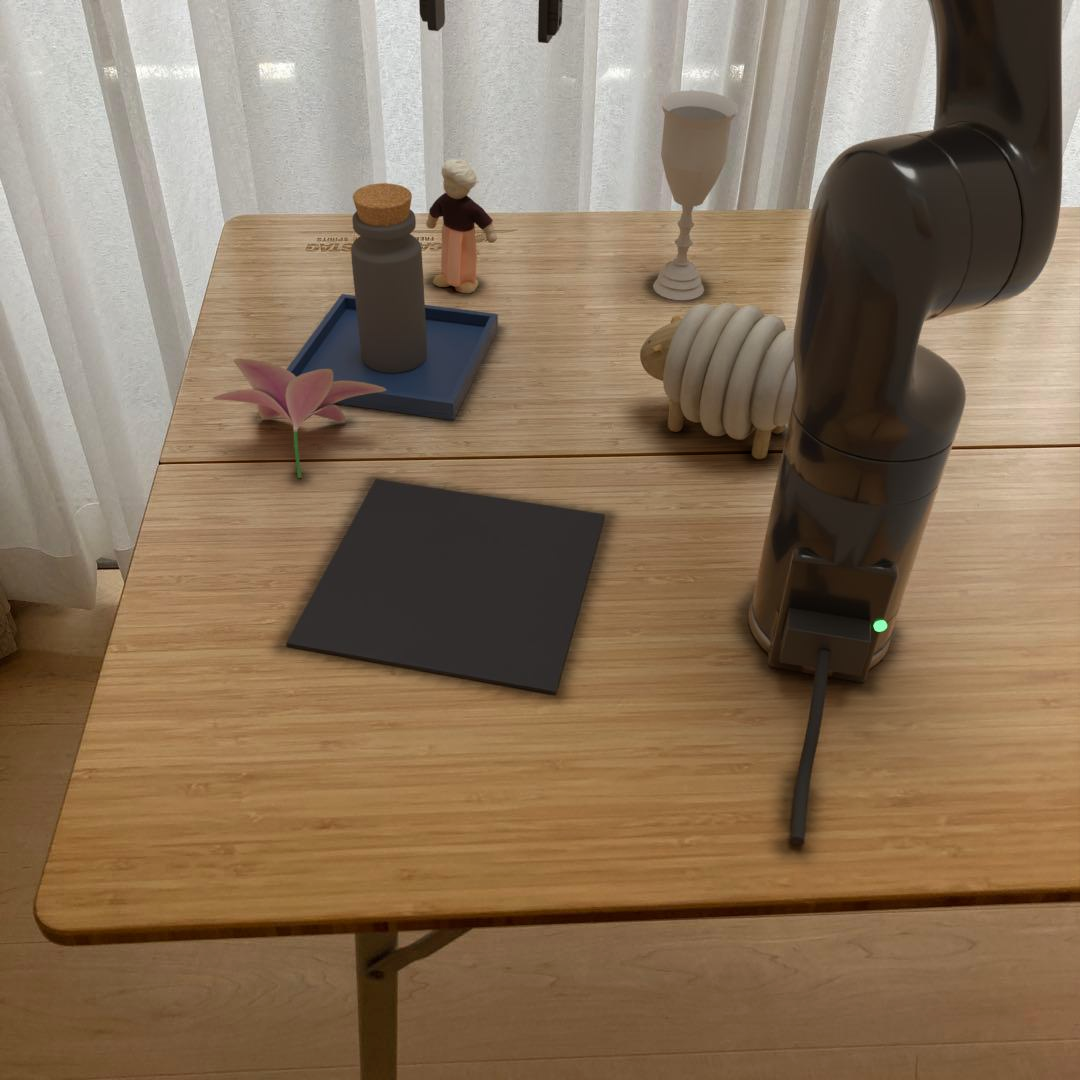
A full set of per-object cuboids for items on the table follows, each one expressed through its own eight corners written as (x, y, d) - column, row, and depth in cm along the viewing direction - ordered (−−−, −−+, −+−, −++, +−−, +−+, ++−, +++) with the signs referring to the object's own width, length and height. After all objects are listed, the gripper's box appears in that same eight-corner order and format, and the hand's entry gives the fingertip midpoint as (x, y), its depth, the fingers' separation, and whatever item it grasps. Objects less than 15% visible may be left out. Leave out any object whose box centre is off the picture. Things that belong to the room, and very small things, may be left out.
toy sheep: (656, 376, 98) (668, 261, 91) (846, 426, 93) (875, 307, 86) (611, 439, 91) (620, 319, 83) (814, 497, 86) (843, 374, 78)
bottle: (432, 341, 101) (424, 181, 91) (420, 376, 96) (411, 212, 87) (369, 337, 101) (354, 177, 91) (354, 371, 97) (337, 207, 87)
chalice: (630, 277, 112) (645, 96, 100) (689, 265, 114) (710, 86, 102) (667, 311, 107) (687, 124, 95) (727, 297, 109) (754, 113, 97)
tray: (453, 420, 92) (453, 403, 91) (281, 395, 95) (279, 378, 93) (498, 329, 104) (497, 313, 102) (343, 309, 106) (341, 293, 105)
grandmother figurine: (417, 288, 109) (410, 162, 101) (431, 270, 112) (426, 146, 104) (491, 300, 108) (490, 174, 99) (504, 282, 111) (504, 158, 102)
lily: (410, 459, 90) (394, 339, 88) (323, 486, 80) (303, 351, 78) (291, 464, 95) (274, 351, 93) (195, 490, 85) (174, 364, 83)
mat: (555, 694, 70) (556, 691, 70) (286, 646, 73) (285, 643, 72) (604, 517, 83) (605, 514, 83) (375, 481, 86) (375, 478, 86)
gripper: (367, -225, 71) (384, 40, 82) (583, -211, 69) (572, 60, 80) (405, -239, 77) (416, 10, 87) (607, -227, 74) (593, 28, 85)
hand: (490, 34), depth 84 cm, fingers open, 8 cm apart
